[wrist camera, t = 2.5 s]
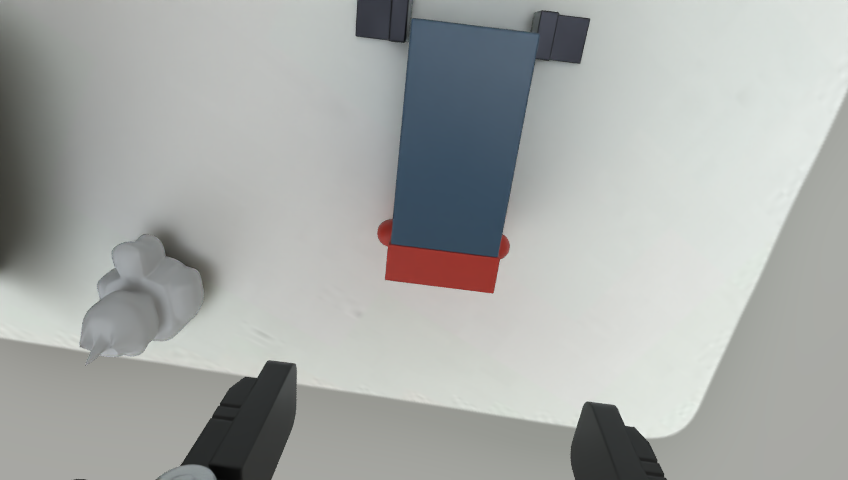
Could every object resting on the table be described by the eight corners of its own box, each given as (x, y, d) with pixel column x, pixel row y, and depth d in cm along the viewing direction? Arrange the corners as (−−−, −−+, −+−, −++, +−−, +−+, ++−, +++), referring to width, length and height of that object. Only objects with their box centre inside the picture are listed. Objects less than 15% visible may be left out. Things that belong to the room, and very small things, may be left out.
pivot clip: (356, 36, 24) (348, 36, 22) (359, -9, 23) (350, -13, 21) (578, 63, 24) (589, 65, 22) (588, 18, 23) (600, 17, 21)
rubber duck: (141, 316, 31) (44, 403, 24) (115, 219, 29) (-2, 283, 21) (224, 319, 31) (152, 408, 23) (206, 221, 28) (118, 286, 21)
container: (383, 229, 28) (366, 278, 22) (401, 19, 24) (385, 14, 18) (500, 244, 28) (511, 296, 22) (539, 36, 23) (566, 36, 18)
